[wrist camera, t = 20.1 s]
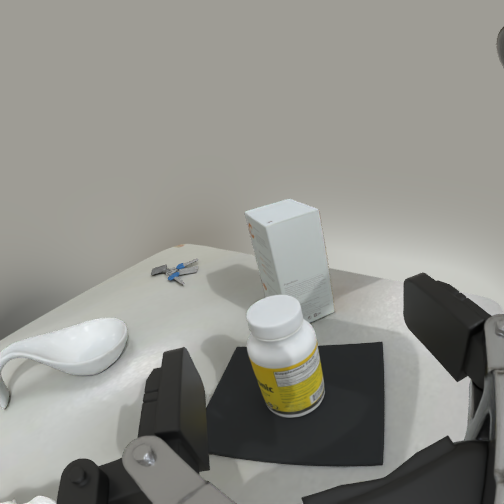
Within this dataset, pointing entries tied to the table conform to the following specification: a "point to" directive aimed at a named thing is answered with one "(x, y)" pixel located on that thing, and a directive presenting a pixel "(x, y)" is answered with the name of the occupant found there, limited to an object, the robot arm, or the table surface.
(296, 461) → the mat
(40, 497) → the knuckle duster
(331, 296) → the small box
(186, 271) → the key chain
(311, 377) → the supplement bottle
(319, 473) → the table surface
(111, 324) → the spoon rest
